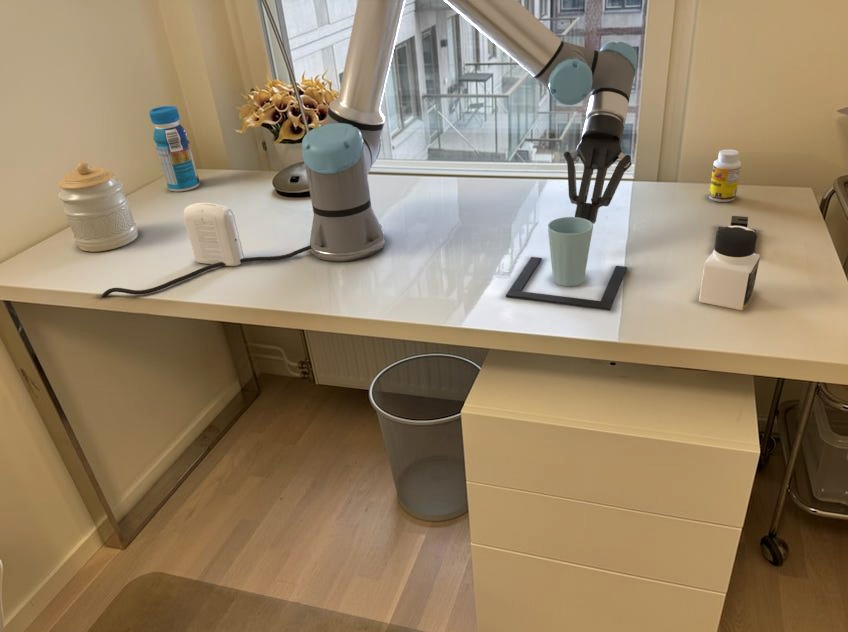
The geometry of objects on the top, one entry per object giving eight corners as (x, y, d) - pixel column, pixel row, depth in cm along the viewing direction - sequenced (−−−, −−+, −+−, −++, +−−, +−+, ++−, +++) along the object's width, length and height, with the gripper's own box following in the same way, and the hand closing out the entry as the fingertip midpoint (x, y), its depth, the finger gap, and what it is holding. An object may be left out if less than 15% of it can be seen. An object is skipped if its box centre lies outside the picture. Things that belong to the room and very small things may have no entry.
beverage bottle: (162, 192, 182) (138, 113, 171) (177, 181, 188) (155, 105, 178) (192, 192, 180) (170, 112, 169) (206, 181, 187) (186, 104, 176)
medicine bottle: (743, 311, 112) (756, 242, 106) (698, 302, 116) (708, 235, 109) (753, 292, 117) (766, 225, 111) (709, 284, 120) (719, 218, 114)
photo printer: (248, 258, 143) (234, 200, 136) (237, 268, 139) (221, 208, 132) (205, 255, 145) (189, 198, 139) (193, 264, 142) (176, 206, 135)
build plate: (755, 257, 128) (759, 234, 126) (713, 254, 131) (716, 231, 128) (756, 230, 138) (760, 208, 135) (716, 228, 140) (720, 206, 137)
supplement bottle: (703, 195, 155) (710, 149, 149) (727, 192, 156) (734, 146, 150) (716, 204, 150) (723, 157, 145) (740, 201, 151) (748, 154, 145)
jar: (149, 237, 156) (124, 159, 146) (92, 258, 148) (62, 176, 139) (123, 225, 164) (98, 149, 154) (68, 243, 156) (37, 165, 146)
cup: (591, 270, 128) (594, 216, 122) (589, 290, 122) (592, 234, 116) (549, 269, 129) (550, 216, 124) (545, 288, 123) (546, 233, 118)
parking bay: (531, 259, 134) (531, 256, 133) (626, 269, 127) (627, 266, 127) (505, 297, 121) (505, 294, 121) (609, 310, 115) (610, 308, 115)
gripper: (640, 134, 135) (618, 249, 131) (574, 131, 139) (550, 242, 136) (638, 113, 128) (614, 233, 124) (568, 111, 133) (543, 227, 129)
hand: (581, 238), depth 130 cm, fingers closed
